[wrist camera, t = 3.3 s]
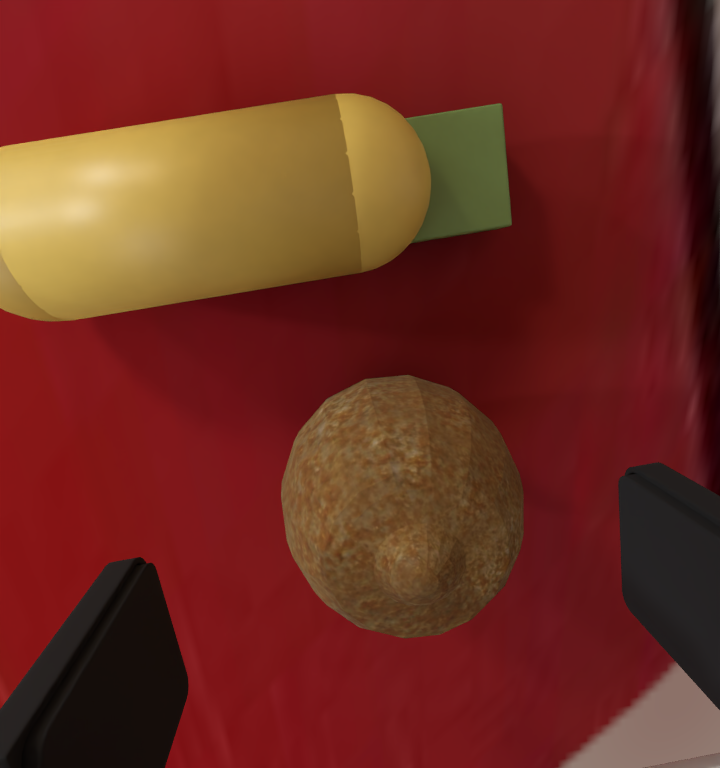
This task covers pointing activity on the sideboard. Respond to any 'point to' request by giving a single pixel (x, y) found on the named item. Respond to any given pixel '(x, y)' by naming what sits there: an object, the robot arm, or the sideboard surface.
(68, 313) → the corn cob
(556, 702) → the sideboard surface
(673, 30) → the sideboard surface
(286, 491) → the fruit
